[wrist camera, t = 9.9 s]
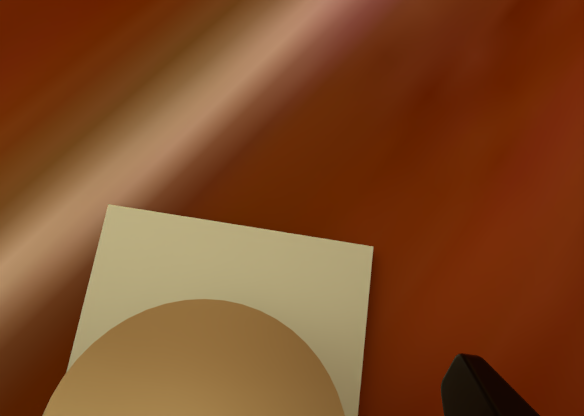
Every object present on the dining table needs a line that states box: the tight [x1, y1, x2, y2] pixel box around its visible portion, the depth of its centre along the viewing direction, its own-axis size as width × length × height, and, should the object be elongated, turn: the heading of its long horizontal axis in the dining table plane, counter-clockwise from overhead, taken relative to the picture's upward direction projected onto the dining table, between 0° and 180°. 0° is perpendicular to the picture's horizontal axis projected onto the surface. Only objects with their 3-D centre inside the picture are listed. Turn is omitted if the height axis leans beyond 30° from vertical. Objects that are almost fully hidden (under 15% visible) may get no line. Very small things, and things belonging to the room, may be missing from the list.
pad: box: [66, 204, 373, 416], centre depth 16 cm, size 10×10×1 cm
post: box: [43, 299, 345, 416], centre depth 10 cm, size 4×4×10 cm
